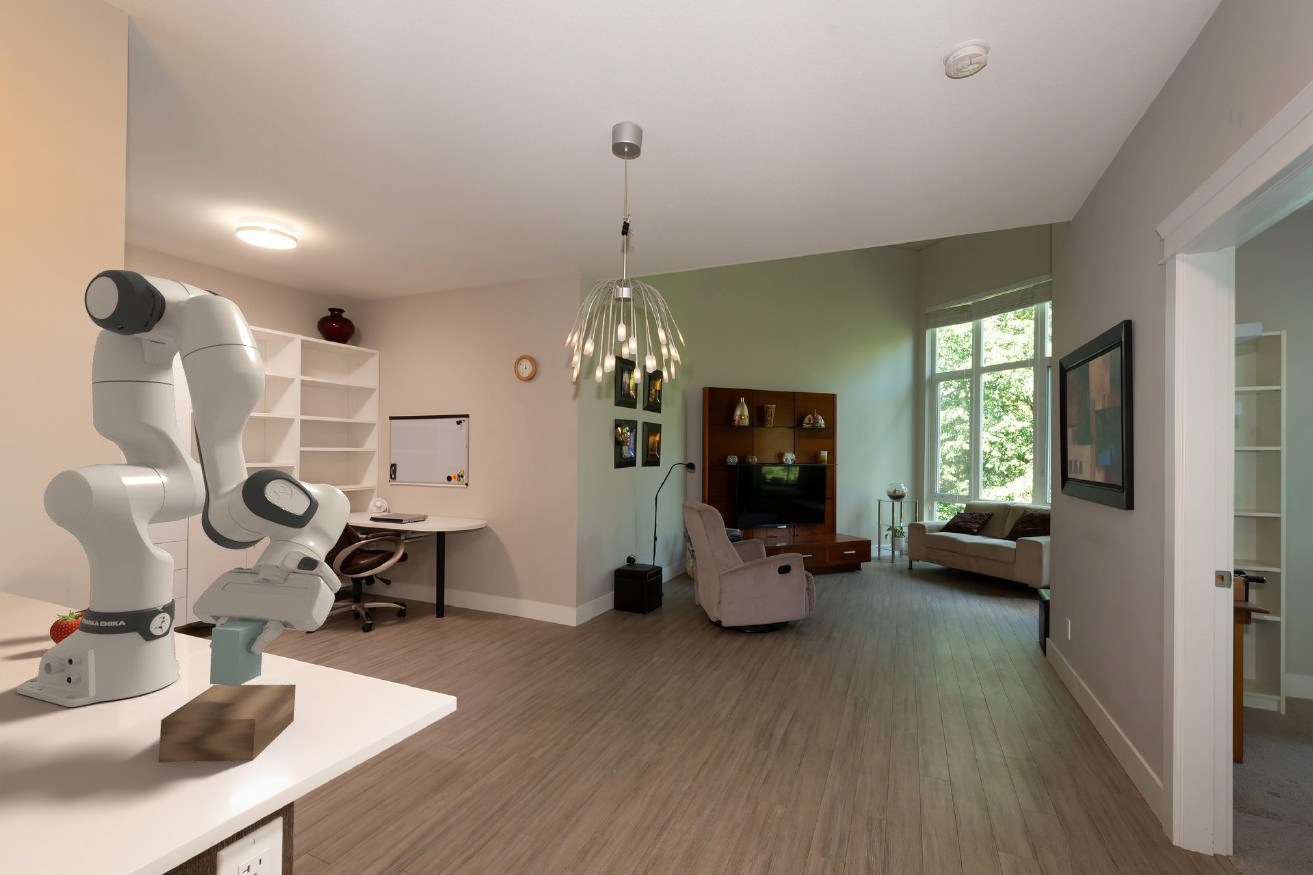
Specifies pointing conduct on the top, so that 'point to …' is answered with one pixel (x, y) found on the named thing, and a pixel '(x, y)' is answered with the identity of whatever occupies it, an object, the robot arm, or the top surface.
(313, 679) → the top surface
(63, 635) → the fruit
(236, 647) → the tea tin
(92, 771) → the top surface
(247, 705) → the walnut block
